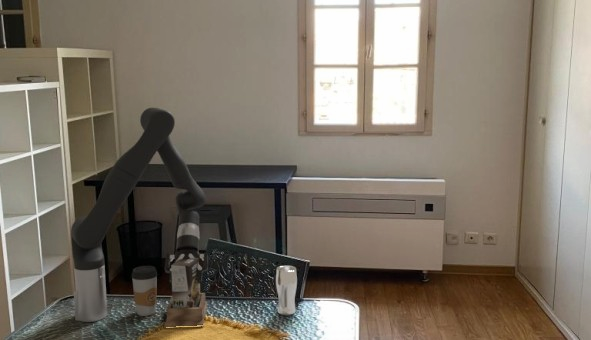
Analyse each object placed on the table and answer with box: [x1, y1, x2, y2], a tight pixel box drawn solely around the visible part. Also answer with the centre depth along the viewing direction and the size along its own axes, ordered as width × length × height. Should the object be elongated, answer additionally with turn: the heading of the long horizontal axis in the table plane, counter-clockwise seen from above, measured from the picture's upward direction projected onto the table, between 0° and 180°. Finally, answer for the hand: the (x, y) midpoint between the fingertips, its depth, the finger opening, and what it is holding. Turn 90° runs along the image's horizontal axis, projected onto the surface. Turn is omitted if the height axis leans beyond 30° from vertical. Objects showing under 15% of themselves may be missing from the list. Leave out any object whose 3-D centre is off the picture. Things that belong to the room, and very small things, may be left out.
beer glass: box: [275, 265, 298, 316], centre depth 184 cm, size 7×7×15 cm
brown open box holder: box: [163, 292, 208, 328], centre depth 182 cm, size 12×20×5 cm, turn 5°
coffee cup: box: [131, 265, 158, 317], centre depth 184 cm, size 8×8×15 cm
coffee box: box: [170, 258, 201, 308], centre depth 181 cm, size 9×6×16 cm
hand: (185, 283), depth 179 cm, fingers closed on coffee box, 8 cm apart
